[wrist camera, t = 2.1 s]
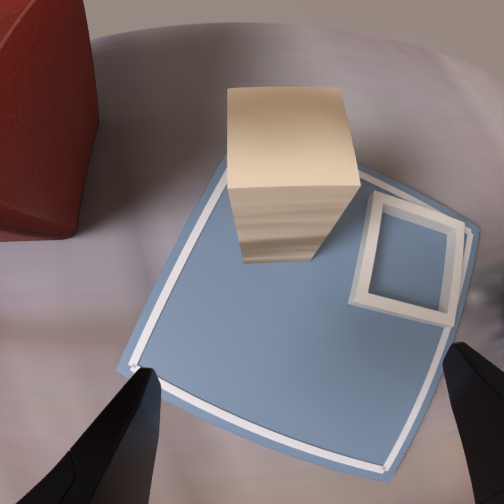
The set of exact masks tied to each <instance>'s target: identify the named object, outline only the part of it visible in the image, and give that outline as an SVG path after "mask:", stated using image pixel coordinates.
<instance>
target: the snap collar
mask: <svg viewBox="0 0 504 504" xmlns="http://www.w3.org/2000/svg"><path fill="white" fill-rule="evenodd" d="M382 213H385V214H388V215H391V216H394V217H397V218H400V219H403V220H406V221H409V222H412V223H415V224H418V225H421V226H424V227H427V228H430V229H433V230H435V231H438V232H441V233H444V234H447V244H446V254H445V264H444V273H443V280H442V288H441V295H440V301H439V307H438V311H435V310H431V309H427V308H423V307H419V306H416V305H412V304H408V303H404V302H400V301H397V300H393V299H389V298H385V297H381V296H378V295H374V294H370V293H368V289H369V285H370V280H371V275H372V269H373V264H374V259H375V253H376V247H377V241H378V235H379V229H380V222H381V216H382ZM464 230H465V223H464V222H462V221H459V220H457V219H454V218H452V217H449V216H446V215H444V214H441V213H438V212H436V211H433V210H430V209H428V208H425V207H422V206H419V205H416V204H414V203H411V202H408V201H405V200H402V199H399V198H396V197H393V196H390V195H387V194H384V193H381V192H378V191H375V190H374V192H373V193H372V194H371V195H370V197H369V198H368V203H367V209H366V215H365V221H364V227H363V233H362V238H361V244H360V249H359V254H358V259H357V264H356V269H355V274H354V278H353V283H352V288H351V292H350V296H349V301H348V304H350V305H354V306H358V307H362V308H365V309H369V310H373V311H377V312H381V313H385V314H389V315H393V316H397V317H401V318H405V319H410V320H414V321H418V322H422V323H426V324H430V325H434V326H439V327H443V328H445V327H454V322H455V316H456V310H457V303H458V296H459V289H460V281H461V271H462V261H463V248H464Z"/></svg>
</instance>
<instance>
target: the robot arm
mask: <svg viewBox="0 0 504 504" xmlns="http://www.w3.org/2000/svg"><path fill="white" fill-rule="evenodd" d="M442 366H443V371H444V375H445V380H446V384H447V388H448V393H449V398H450V402H451V407H452V410H453V414H454V417H455V420H456V424H457V427H458V431H459V434H460V438H461V441H462V445H463V449H464V453H465V457H466V461H467V465H468V469H469V474H470V478H471V483H472V488H473V493H474V498H475V504H504V372H503V371H501V370H500V369H499V368H498V367H496V366H495V365H494V364H492V363H491V362H490V361H488V360H487V359H486V358H484V357H483V356H482V355H480V354H479V353H478V352H476V351H475V350H474V349H472V348H471V347H470V346H468V345H467V344H466V343H464V342H456V343H452V344H451V345H450V347H449V349H448V351H447V353H446V355H445V357H444V359H443V363H442ZM161 392H162V390H161V384H160V381H159V379H158V377H157V374H156V372H155V370H154V369H153V368H147V367H141V368H139V369H138V370H137V371H136V372H135V373H134V375H133V376H132V377H131V378H130V379H129V380H128V382H127V383H126V384H125V385H124V386H123V387H122V389H121V390H120V391H119V392H118V393H117V394H116V396H115V397H114V398H113V399H112V400H111V401H110V403H109V404H108V405H107V406H106V407H105V408H104V410H103V411H102V412H101V413H100V414H99V415H98V417H97V418H96V419H95V420H94V421H93V423H92V424H91V425H90V426H89V427H88V428H87V430H86V431H85V432H84V433H83V434H82V435H81V437H80V438H79V439H78V440H77V441H76V443H75V444H74V445H73V446H72V447H71V448H70V451H68V452H67V453H66V454H65V455H64V457H63V458H62V459H61V460H60V461H59V462H58V463H57V465H56V466H55V467H54V468H53V469H52V470H51V471H50V472H49V473H48V474H47V475H46V476H45V477H44V478H43V479H42V480H41V481H40V482H39V483H38V484H37V485H36V486H35V487H33V488H32V489H31V490H30V491H29V492H28V493H27V494H26V495H25V496H24V497H23V498H21V499H20V500H19V501H18V502H17V503H16V504H148V502H149V495H150V488H151V481H152V475H153V468H154V462H155V456H156V450H157V444H158V438H159V425H160V407H161Z"/></svg>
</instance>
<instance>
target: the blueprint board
mask: <svg viewBox="0 0 504 504" xmlns="http://www.w3.org/2000/svg"><path fill="white" fill-rule="evenodd" d="M357 167H358V172H359V178H360V183H361V186H360V188H359V189H358V191H357V192H356V194H355V195H354V197H353V198H352V200H351V201H350V203H349V204H348V206H347V207H346V209H345V210H344V212H343V213H342V215H341V216H340V218H339V219H338V221H337V222H336V224H335V225H334V227H333V228H332V230H331V231H330V233H329V234H328V236H327V237H326V238H325V240H324V241H323V243H322V244H321V246H320V247H319V249H318V250H317V251H316V253H315V254H314V256H313V257H312V259H311V260H310V261H303V262H280V263H256V264H244V262H243V257H242V253H241V248H240V244H239V239H238V235H237V230H236V226H235V221H234V217H233V212H232V208H231V203H230V198H229V194H228V189H227V152H226V154H225V155H224V157H223V159H222V160H221V162H220V164H219V166H218V167H217V169H216V171H215V173H214V174H213V176H212V178H211V180H210V181H209V183H208V185H207V187H206V189H205V190H204V192H203V194H202V196H201V198H200V199H199V201H198V203H197V205H196V207H195V208H194V210H193V212H192V214H191V216H190V218H189V220H188V221H187V223H186V225H185V227H184V229H183V231H182V233H181V235H180V237H179V238H178V240H177V242H176V244H175V246H174V248H173V250H172V252H171V254H170V256H169V258H168V260H167V262H166V264H165V266H164V268H163V270H162V272H161V274H160V276H159V278H158V280H157V282H156V284H155V286H154V288H153V290H152V292H151V294H150V296H149V298H148V300H147V303H146V305H145V307H144V309H143V311H142V313H141V315H140V317H139V320H138V322H137V324H136V326H135V328H134V330H133V333H132V335H131V337H130V339H129V341H128V344H127V346H126V348H125V350H124V353H123V355H122V357H121V360H120V362H119V364H118V367H117V369H116V372H118V373H120V374H121V375H123V376H124V377H126V378H128V379H130V378H131V377H132V376H133V375H134V373H135V372H136V371H137V370H138V369H139V368H141V367H147V368H153V369H154V370H155V372H156V374H157V377H158V379H159V381H160V384H161V390H162V392H161V398H162V399H164V400H166V401H168V402H169V403H171V404H173V405H175V406H177V407H179V408H181V409H183V410H185V411H187V412H189V413H191V414H193V415H195V416H197V417H199V418H201V419H203V420H205V421H207V422H209V423H211V424H213V425H216V426H218V427H220V428H222V429H224V430H227V431H229V432H231V433H233V434H236V435H238V436H240V437H243V438H245V439H248V440H250V441H252V442H255V443H257V444H260V445H262V446H265V447H268V448H270V449H273V450H276V451H278V452H281V453H284V454H287V455H289V456H292V457H295V458H298V459H301V460H304V461H307V462H310V463H313V464H317V465H320V466H323V467H326V468H330V469H333V470H337V471H340V472H344V473H348V474H352V475H356V476H360V477H364V478H368V479H372V480H377V481H381V482H386V483H388V482H389V481H390V479H391V477H392V476H393V474H394V472H395V471H396V469H397V467H398V465H399V464H400V462H401V460H402V458H403V456H404V455H405V453H406V451H407V449H408V447H409V445H410V443H411V441H412V440H413V438H414V436H415V434H416V432H417V430H418V427H419V425H420V423H421V421H422V419H423V417H424V415H425V413H426V410H427V408H428V406H429V404H430V401H431V399H432V397H433V394H434V392H435V390H436V387H437V385H438V382H439V380H440V377H441V374H442V372H443V366H442V363H443V359H444V357H445V355H446V353H447V351H448V349H449V347H450V345H451V344H452V343H453V341H454V338H455V334H456V331H457V328H458V325H459V321H460V318H461V314H462V311H463V307H464V304H465V300H466V296H467V292H468V288H469V284H470V279H471V275H472V270H473V265H474V260H475V255H476V250H477V244H478V239H479V232H480V228H479V227H478V226H476V225H475V224H473V223H471V222H470V221H468V220H466V219H465V218H463V217H461V216H460V215H458V214H456V213H455V212H453V211H451V210H449V209H448V208H446V207H444V206H442V205H441V204H439V203H437V202H435V201H433V200H432V199H430V198H428V197H426V196H424V195H422V194H421V193H419V192H417V191H415V190H413V189H411V188H409V187H407V186H405V185H403V184H401V183H399V182H397V181H395V180H393V179H391V178H389V177H387V176H385V175H383V174H381V173H379V172H377V171H375V170H373V169H371V168H369V167H366V166H364V165H362V164H360V163H358V162H357ZM374 190H375V191H378V192H381V193H384V194H387V195H390V196H393V197H396V198H399V199H402V200H405V201H408V202H411V203H414V204H416V205H419V206H422V207H425V208H428V209H430V210H433V211H436V212H438V213H441V214H444V215H446V216H449V217H452V218H454V219H457V220H459V221H462V222H464V223H465V230H464V248H463V261H462V271H461V281H460V289H459V296H458V303H457V310H456V316H455V322H454V327H445V328H443V327H439V326H434V325H430V324H426V323H422V322H418V321H414V320H410V319H405V318H401V317H397V316H393V315H389V314H385V313H381V312H377V311H373V310H369V309H365V308H362V307H358V306H354V305H350V304H348V301H349V296H350V292H351V288H352V283H353V278H354V274H355V269H356V264H357V259H358V254H359V249H360V244H361V238H362V233H363V227H364V221H365V215H366V209H367V203H368V198H369V197H370V195H371V194H372V193H373V192H374ZM446 244H447V234H444V233H441V232H438V231H435V230H433V229H430V228H427V227H424V226H421V225H418V224H415V223H412V222H409V221H406V220H403V219H400V218H397V217H394V216H391V215H388V214H385V213H382V216H381V222H380V229H379V235H378V241H377V247H376V253H375V259H374V264H373V269H372V275H371V280H370V285H369V289H368V293H370V294H374V295H378V296H381V297H385V298H389V299H393V300H397V301H400V302H404V303H408V304H412V305H416V306H419V307H423V308H427V309H431V310H435V311H438V307H439V301H440V295H441V288H442V280H443V273H444V264H445V254H446Z"/></svg>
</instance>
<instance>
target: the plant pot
mask: <svg viewBox="0 0 504 504" xmlns="http://www.w3.org/2000/svg"><path fill="white" fill-rule="evenodd" d="M98 122H99V112H98V101H97V92H96V82H95V74H94V65H93V58H92V50H91V44H90V38H89V31H88V25H87V20H86V14H85V8H84V3H83V0H0V242H7V241H40V240H64V239H68V238H69V237H71V236H72V235H73V233H74V232H75V230H76V226H77V220H78V214H79V207H80V201H81V196H82V190H83V185H84V180H85V175H86V171H87V166H88V162H89V157H90V153H91V149H92V145H93V141H94V137H95V133H96V129H97V126H98Z"/></svg>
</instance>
